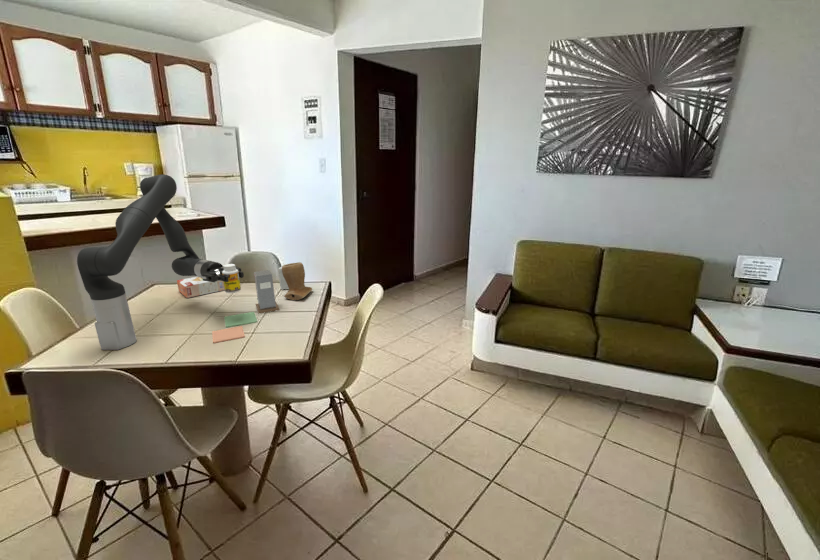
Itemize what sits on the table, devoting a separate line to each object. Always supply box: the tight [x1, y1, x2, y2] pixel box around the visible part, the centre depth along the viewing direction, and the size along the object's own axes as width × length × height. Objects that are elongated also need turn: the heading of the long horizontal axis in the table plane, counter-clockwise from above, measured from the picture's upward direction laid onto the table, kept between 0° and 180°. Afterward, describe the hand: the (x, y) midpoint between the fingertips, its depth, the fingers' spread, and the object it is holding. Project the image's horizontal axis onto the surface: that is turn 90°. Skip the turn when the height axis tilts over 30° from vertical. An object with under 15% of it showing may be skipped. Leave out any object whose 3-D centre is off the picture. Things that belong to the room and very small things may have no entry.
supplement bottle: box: [222, 263, 242, 294], centre depth 149 cm, size 6×6×10 cm
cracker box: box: [176, 276, 225, 299], centre depth 189 cm, size 14×6×21 cm
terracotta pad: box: [211, 325, 246, 344], centre depth 141 cm, size 10×10×1 cm
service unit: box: [253, 269, 280, 314], centre depth 163 cm, size 9×8×15 cm
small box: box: [277, 265, 289, 291], centre depth 190 cm, size 8×6×10 cm
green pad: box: [223, 311, 258, 329], centre depth 154 cm, size 11×11×1 cm
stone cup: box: [281, 261, 313, 301], centre depth 178 cm, size 15×12×15 cm
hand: (235, 277), depth 147 cm, fingers closed on supplement bottle, 5 cm apart
